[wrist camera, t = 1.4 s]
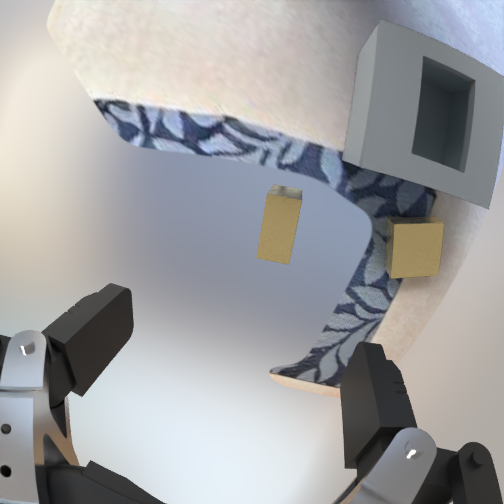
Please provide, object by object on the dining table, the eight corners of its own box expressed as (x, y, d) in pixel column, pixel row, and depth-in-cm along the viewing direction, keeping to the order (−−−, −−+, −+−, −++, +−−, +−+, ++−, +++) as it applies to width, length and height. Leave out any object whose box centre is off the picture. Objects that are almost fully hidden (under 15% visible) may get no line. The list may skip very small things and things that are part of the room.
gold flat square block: (273, 184, 30) (267, 193, 24) (302, 189, 30) (301, 200, 24) (264, 237, 32) (256, 258, 27) (291, 242, 32) (288, 264, 26)
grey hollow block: (357, 54, 23) (380, 19, 14) (455, 90, 22) (505, 77, 13) (341, 159, 28) (361, 167, 18) (440, 188, 26) (488, 209, 17)
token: (386, 216, 29) (394, 224, 26) (433, 216, 28) (444, 223, 25) (384, 267, 31) (390, 278, 28) (428, 264, 30) (438, 275, 27)
